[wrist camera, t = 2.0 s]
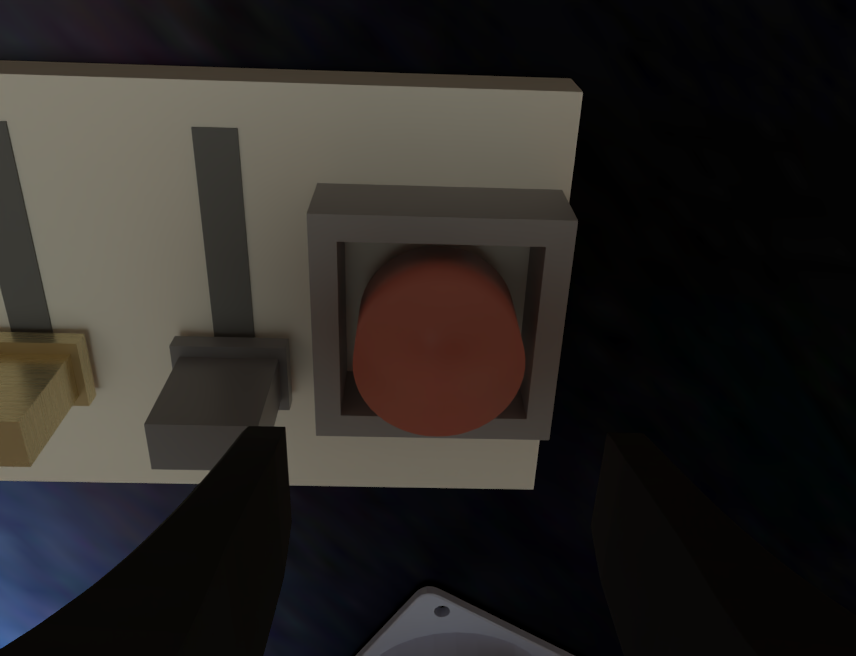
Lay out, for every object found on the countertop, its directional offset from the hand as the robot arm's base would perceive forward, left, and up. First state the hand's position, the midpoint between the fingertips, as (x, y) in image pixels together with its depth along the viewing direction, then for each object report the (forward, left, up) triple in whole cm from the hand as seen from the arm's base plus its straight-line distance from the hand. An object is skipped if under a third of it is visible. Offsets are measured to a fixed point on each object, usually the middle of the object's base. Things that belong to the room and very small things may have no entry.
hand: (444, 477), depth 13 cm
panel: (+4, +3, -8) cm, 10 cm away
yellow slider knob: (+7, +7, -7) cm, 12 cm away
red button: (0, 0, -6) cm, 6 cm away
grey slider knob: (+3, +4, -7) cm, 9 cm away
